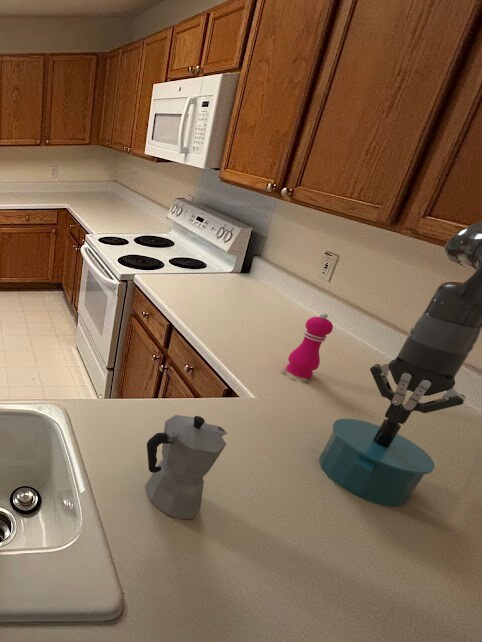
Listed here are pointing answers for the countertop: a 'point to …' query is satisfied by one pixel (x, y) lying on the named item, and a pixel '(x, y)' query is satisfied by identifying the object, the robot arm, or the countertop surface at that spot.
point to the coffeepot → (182, 464)
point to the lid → (383, 445)
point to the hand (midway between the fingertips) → (392, 421)
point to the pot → (366, 475)
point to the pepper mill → (309, 347)
